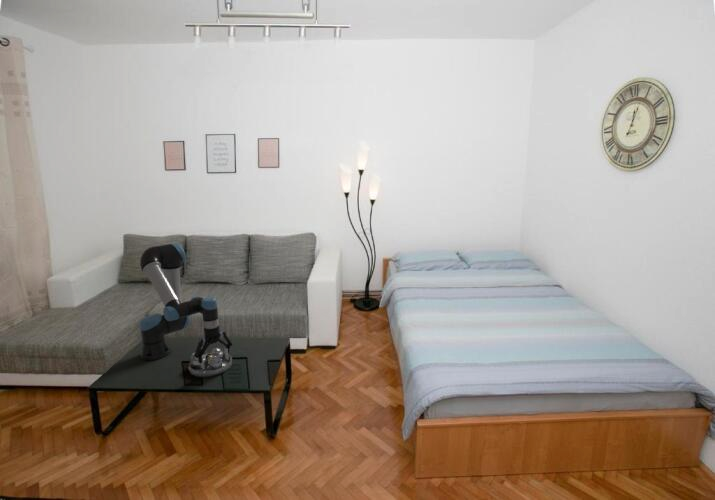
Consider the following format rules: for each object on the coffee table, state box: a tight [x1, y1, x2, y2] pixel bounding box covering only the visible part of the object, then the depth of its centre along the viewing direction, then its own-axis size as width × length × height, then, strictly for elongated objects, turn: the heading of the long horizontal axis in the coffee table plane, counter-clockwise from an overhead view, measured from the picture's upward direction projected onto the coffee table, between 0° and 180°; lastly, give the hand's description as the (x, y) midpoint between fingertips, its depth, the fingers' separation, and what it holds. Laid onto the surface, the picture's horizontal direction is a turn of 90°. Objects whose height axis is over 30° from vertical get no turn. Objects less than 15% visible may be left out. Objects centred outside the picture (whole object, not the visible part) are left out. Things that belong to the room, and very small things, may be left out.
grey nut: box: [208, 356, 222, 371], centre depth 212 cm, size 7×7×6 cm
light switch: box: [190, 348, 207, 367], centre depth 220 cm, size 2×12×8 cm, turn 168°
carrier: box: [188, 347, 233, 378], centre depth 216 cm, size 22×22×8 cm
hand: (215, 363), depth 212 cm, fingers open, 13 cm apart
